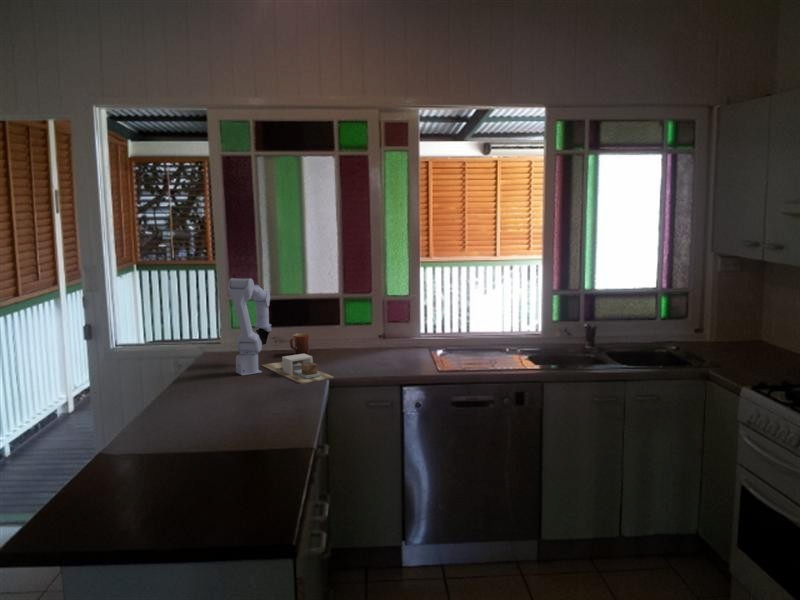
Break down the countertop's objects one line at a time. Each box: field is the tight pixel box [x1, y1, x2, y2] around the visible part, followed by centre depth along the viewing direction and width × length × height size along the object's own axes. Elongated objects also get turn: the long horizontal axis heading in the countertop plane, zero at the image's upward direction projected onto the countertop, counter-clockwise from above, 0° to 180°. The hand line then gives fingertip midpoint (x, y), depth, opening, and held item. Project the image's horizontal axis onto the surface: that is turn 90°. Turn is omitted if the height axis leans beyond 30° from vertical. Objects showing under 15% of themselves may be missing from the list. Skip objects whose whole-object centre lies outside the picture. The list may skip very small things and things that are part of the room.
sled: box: [292, 361, 321, 379], centre depth 279 cm, size 7×23×4 cm, turn 36°
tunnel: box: [281, 354, 314, 375], centre depth 282 cm, size 11×8×7 cm
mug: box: [289, 332, 311, 355], centre depth 316 cm, size 12×9×10 cm
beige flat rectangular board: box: [261, 361, 334, 385], centre depth 284 cm, size 16×39×1 cm, turn 36°
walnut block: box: [301, 362, 319, 375], centre depth 273 cm, size 5×5×4 cm
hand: (263, 344), depth 298 cm, fingers closed
